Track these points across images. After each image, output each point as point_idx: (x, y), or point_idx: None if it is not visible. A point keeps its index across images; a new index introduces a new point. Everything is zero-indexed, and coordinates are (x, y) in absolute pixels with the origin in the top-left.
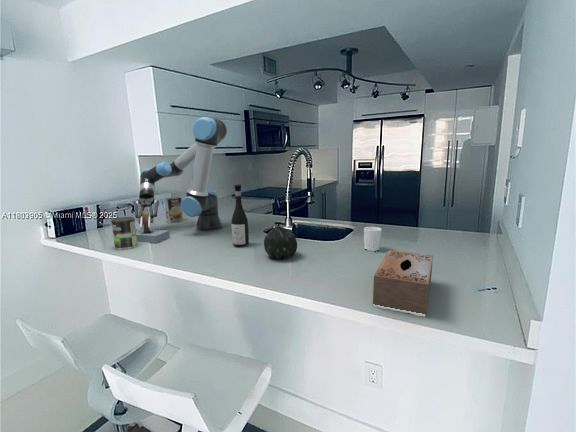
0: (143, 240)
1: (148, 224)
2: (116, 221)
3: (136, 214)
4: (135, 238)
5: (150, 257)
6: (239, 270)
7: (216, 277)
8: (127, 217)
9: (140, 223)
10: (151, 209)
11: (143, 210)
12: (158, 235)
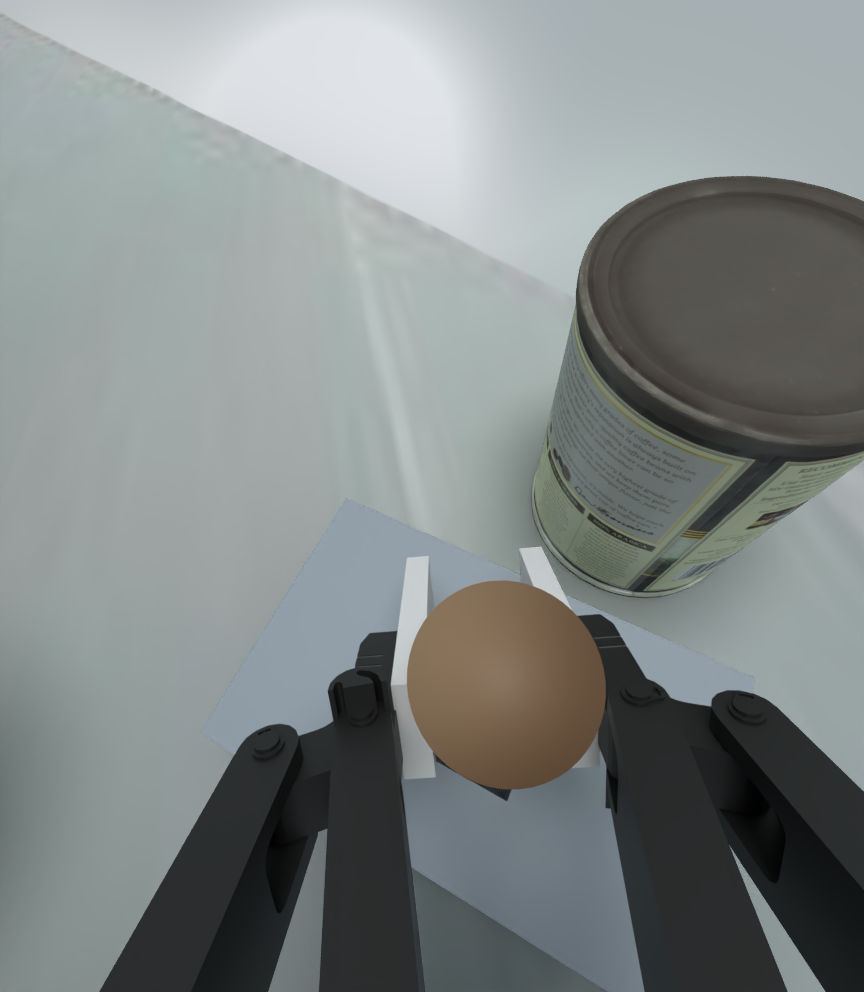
0: None
1: (425, 572)
2: (772, 178)
3: (743, 720)
4: (542, 451)
5: (364, 250)
6: (12, 99)
7: (108, 68)
8: (775, 412)
9: (553, 578)
10: (326, 903)
11: (568, 741)
12: (325, 536)
